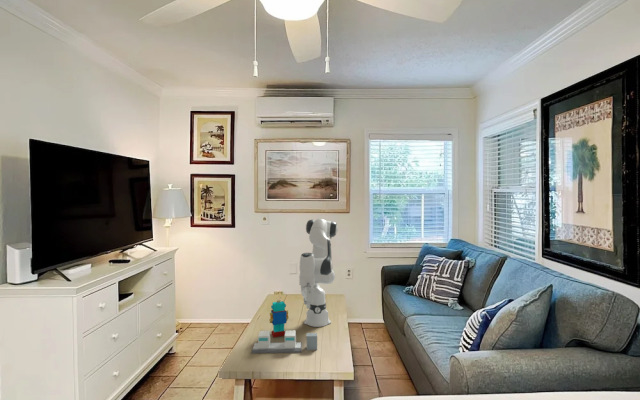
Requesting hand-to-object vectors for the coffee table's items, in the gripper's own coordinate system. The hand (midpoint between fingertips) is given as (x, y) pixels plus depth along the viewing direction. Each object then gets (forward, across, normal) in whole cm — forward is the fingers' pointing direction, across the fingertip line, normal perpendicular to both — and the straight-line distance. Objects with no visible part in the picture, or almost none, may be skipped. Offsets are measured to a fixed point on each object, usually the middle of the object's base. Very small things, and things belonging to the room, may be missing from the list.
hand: (306, 306), depth 204 cm
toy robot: (+24, +28, +14) cm, 39 cm away
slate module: (+25, +5, -4) cm, 26 cm away
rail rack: (+25, +8, +16) cm, 31 cm away
